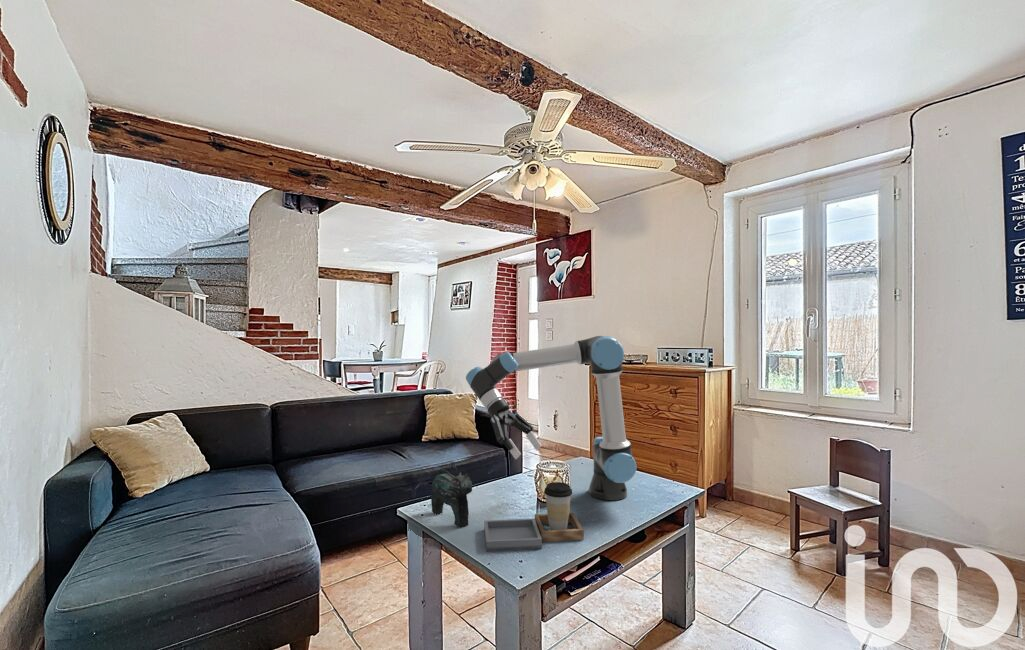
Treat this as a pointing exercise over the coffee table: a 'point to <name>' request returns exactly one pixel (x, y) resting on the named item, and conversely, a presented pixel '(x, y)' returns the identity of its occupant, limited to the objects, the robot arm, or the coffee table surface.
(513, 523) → the tray
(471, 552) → the coffee table surface
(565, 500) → the coffee cup
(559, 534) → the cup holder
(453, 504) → the dark green textured figure
